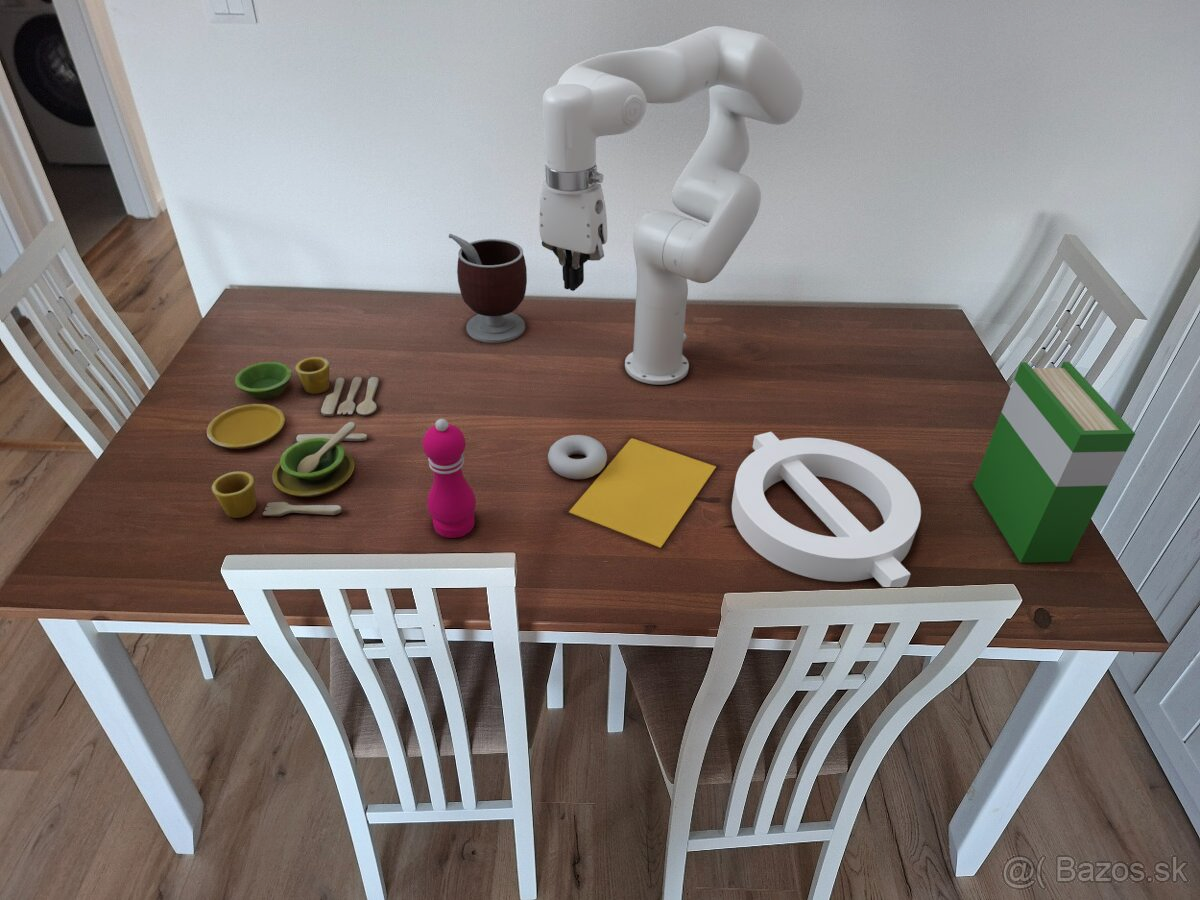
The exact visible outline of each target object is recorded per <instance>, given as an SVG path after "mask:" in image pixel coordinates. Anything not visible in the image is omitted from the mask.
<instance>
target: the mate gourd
mask: <svg viewBox="0 0 1200 900" xmlns="http://www.w3.org/2000/svg"><path fill="white" fill-rule="evenodd" d="M448 238H449V239H452V240H453V241H454V242H455V243H457V245H459V247H460V249H459V250H458V253H457V254H458V257H457V258H458V259H457V266H456V267H457V268H456V269H457V270H456V274H457V283H458V287H459V291H460V295H461V297H462V301H463V302H464V303H465V305H466V306H467V307H468V308H469V309H471V311H473V312H474V313H475V314H476V315H474V316H472V317H471V318H470V319H469V320H468V321H467V322H466V326H465V327H466V333H467V335H468V336H470V337H471V338H472V339H474V340H476V341H479V342H481V343H482V342H483V343H488V344H498V343H499V344H500V343H505V342H510V341H512V340H515V339H517V338H519V337H520V336H521V335H523V333H524V332H525V329H526V324H525V321H524V318H522V317H521V316H520V315H518V314H516V313H513V312H514V311H515V310H517V309H518V307H519V306H520V305H521V303H523V301H524V299H525V297H526V292H527V285H528V284H527V283H528V274H527V264H526V263H527V262H526V258H525V256H524V249H523V248H522V246H521V245H519V244H518V243H516V242H514V241H511V240H507V239H502V238H501V239H500V238H486V239H478V240H474V241H471V242H469V241H468V240H465V239H463V238H461V237H460V236H458V235H456V234H452V233H448Z"/></svg>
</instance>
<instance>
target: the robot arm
mask: <svg viewBox="0 0 1200 900" xmlns="http://www.w3.org/2000/svg"><path fill="white" fill-rule="evenodd" d="M706 90H708V93H709V94H708V96H709V97H708V99H709V120H708V126H707V131H706V133H705V136H704V138H703V139H702V141H701V143H700V144H699V146H698V147H697V149H696V150H695V152H694V153H693V155H692V156H691V158H690V160H689V161H688V163H686V165H685V167H684V169H683V170H682V171H681V173H680V174H679V176H678V178H677V179H676V181H675V183H674V185H673V188H672V189H671V190H672V191H671V203H672V204H673V205H674V207H675V208H676V209H677V210H678V211H680V212H681V213H682V214H685V215H687V216H689V217H690V218H689V217H686V216H683V215H681V214H677V213H675V212H672V211H668V210H663V209H655V210H651V211H647V212H646V213H644V214H643V215H642V216H641V217H640V218H639V219H638V221H637V222H636V225H635V227H634V230H633V234H632V235H633V236H632V247H633V253H634V260H635V268H636V289H635V290H636V291H635V312H634V326H633V327H634V329H633V349H632V351H631V352H630V353H629V354H627V356H626V357H625V360H624V368H625V371H626V373H627V374H628V375H629V376H630V377H631V378H633V379H634V380H636V381H638V382H641V383H644V384H647V385H655V386H660V385H661V386H662V385H669V384H675V383H677V382H679V381H681V380H682V379H684V378H685V377H686V376H687V375H688V372H689V368H690V363H689V360H688V358H687V357H686V356H685V355H684V354H683V347H684V342H685V341H686V340H687V338H688V337H687V334H686V333H685V325H686V316H687V315H686V314H687V302H688V295H689V294H688V293H689V286H688V285H689V284H688V280H689V281H691V282H694V283H698V284H707V283H709V282H711V281H713V280H714V279H716V278H717V276H718V275H719V274H720V273H721V272H722V271H723V269H724V268H725V267H726V265H727V263H728V262H729V260H730V259H731V258H732V256H733V254H734V253H735V252H736V250H737V248H738V247H739V246H740V244H741V242H742V241H743V239H744V238H745V237H746V235H747V233H748V231H750V228H751V227H752V225H753V224H754V222H755V220H756V218H757V215H758V213H759V211H760V206H761V201H762V192H761V188H760V186H759V184H758V182H756V181H755V179H753V178H752V177H750V176H748V175H745V174H743V173H740V172H741V170H742V168H743V167H744V165H745V163H746V161H747V160H748V157H749V153H750V138H749V133H748V128H747V124H746V122H747V121H746V118H748V119H752V120H755V121H758V122H762V123H766V124H770V125H774V126H779V125H780V126H781V125H784V124H787V123H789V122H791V120H793V119H794V118H795V117H796V115H797V114H798V112H799V110H800V108H801V106H802V102H803V96H804V93H803V92H804V88H803V84H802V80H801V78H800V76H799V73H798V72H797V71H796V70H795V69H794V67H793V66H792V64H791V63H790V61H789V60H788V59H787V57H786V55H784V53H783V52H782V50H780V48H779V47H778V46H777V44H775V43H774V42H773V41H772V40H771V39H770V38H769V37H767V36H766V35H764V34H762V33H759V32H754V31H749V30H744V29H739V28H735V27H731V26H726V25H713V26H708V27H705V28H702V29H701V30H698V31H695V32H693V33H691V34H688V35H685V36H683V37H681V38H678V39H676V40H673V41H671V42H668V43H666V44H662V45H657V46H649V47H640V48H635V49H627V50H620V51H619V50H618V51H613V52H612V51H611V52H607V53H603V54H599V55H596V56H593V57H590V58H587V59H585V60H582V61H580V62H578V63H575V64H573V65H572V66H570V67H569V68H567V69H566V70H565V72H563V73H562V75H561V76H560V78H559V80H558V82H557V84H556V85H552V86H550V87H549V88H547V89H546V90H545V91H544V93H543V95H542V101H541V105H542V106H541V109H542V129H543V131H542V132H543V151H544V173H545V174H544V175H545V177H544V178H545V179H544V181H542V185H541V191H540V198H539V206H538V207H539V209H538V229H539V237H540V240H541V246H542V247H543V248H545V249H547V250H549V251H551V252H553V254H554V255H555V256H556V258H557V259H558V264H559V265H560V266H562V281H563V287H564V290H570V291H572V292H574V291H576V290H577V289H578V288H579V287H581V285H582V284H584V280H585V272H584V271H585V270H584V269H585V268H584V265H585V263H586V262H588V261H601V259H603V258H604V257H605V252H604V248H603V245H605V244H606V243H607V242H608V219H607V218H608V217H607V207H606V201H605V196H604V191H603V187H602V183H603V181H604V173H600V172H598V165H597V156H596V155H597V139H598V138H599V137H605V136H607V137H608V136H616V135H621V134H622V135H623V134H625V133H629V132H630V131H632V130H634V129H635V128H636V127H638V126H639V125H640V124H641V122H642V120H643V119H644V117H645V114H646V110H647V104H657V105H659V104H660V105H663V104H676V103H681V102H682V101H685V100H687V99H689V98H690V97H693V96H695V95H697V94H699V93H702V92H704V91H706ZM691 217H692V218H694V219H697V220H699V221H702V222H705V223H708V224H707V225H706V224H703V223H702V222H698V221H696V220H693V219H691Z"/></svg>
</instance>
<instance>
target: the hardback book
mask: <svg viewBox="0 0 1200 900" xmlns="http://www.w3.org/2000/svg"><path fill="white" fill-rule="evenodd" d="M997 419H998V420H997V422H996V425H995V428H994V429H993V432H992V435H991V438H990V439H989V443H988V445H987V448H986V450H985V453H984V456H983V458H982V461H981V462H980V463H981V464H980V466H979V468H978V471H977V473H976V476H975V479H974V481H973V484H972V487H973V488H974V490H975V491H976V493H977V495H978V496H979V498H980V499H981V501H982V503H983V505H984V506H985V508H986V509H987V511H988V513H989V515H990V516H991V518H992V519H993V521H994V522H995V524H996V525H997V527H998V530H999V531H1000V532H1001V534H1002V535H1003V538H1005V540H1006V542H1007V543H1008V545H1009V547H1010V549H1011V550H1012V551H1013V553H1014V555H1015V556H1016V558H1017V560H1018V561H1019V563H1021V564H1025V563H1026V564H1027V563H1028V564H1029V563H1030V564H1033V563H1066V562H1067V563H1068V562H1070V560H1071V558H1072V556H1073V554H1074V553H1075V551H1076V549H1077V547H1078V544H1079V543H1080V541H1081V539H1082V537H1083V535H1084V533H1085V531H1086V530H1087V528H1088V525H1089V524H1090V522H1091V520H1092V518H1093V516H1094V514H1095V512H1096V510H1097V509H1098V506H1099V504H1100V502H1101V501H1102V499H1103V497H1104V495H1105V493H1106V491H1107V489H1108V487H1109V486H1110V484H1111V482H1112V480H1113V478H1114V476H1115V474H1116V472H1117V470H1118V468H1119V466H1120V465H1121V462H1122V461H1123V458H1124V457H1125V455H1126V453H1127V451H1128V449H1129V447H1130V445H1131V443H1132V441H1133V439H1134V438H1135V436H1136V432H1135V431H1134V430H1133V429H1132V427H1130V426H1129V425H1128V424H1127V423H1126V421H1125V420H1123V418H1122V417H1121V416H1120V415H1119V414H1118V413H1117V412H1116V411H1115V410H1114V409H1113V407H1112V406H1111V404H1109V403H1108V402H1107V401H1106V399H1104V398H1103V396H1102V395H1101V394H1100V393H1099V392H1098V390H1096V389H1095V388H1094V387H1093V386H1092V384H1090V382H1089V381H1088V380H1087V379H1086V378H1085V377H1084V376H1083V375H1082V373H1080V372H1079V371H1078V370H1077V368H1076V367H1075V366H1074V365H1073V364H1072V363H1071V362H1070V361H1062V364H1061V366H1060V367H1055V368H1054V367H1046V368H1045V367H1043V368H1041V367H1038V368H1037V367H1036V368H1033V367H1031V366H1030V364H1029V362H1026V361H1023V362H1020V363H1019V366H1018V368H1017V370H1016V373H1015V376H1014V379H1013V381H1012V384H1011V386H1010V388H1009V391H1008V394H1007V397H1006V399H1005V402H1004V404H1003V407H1002V409H1001V412H1000V414H999V416H998V418H997Z"/></svg>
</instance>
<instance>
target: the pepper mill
mask: <svg viewBox="0 0 1200 900" xmlns="http://www.w3.org/2000/svg"><path fill="white" fill-rule="evenodd" d="M466 445H467V444H466V438H465V434H464V433H463V431H462V430H461V429H460V428H459V427H458V426H456V425H454V424H451V423H449V422H448V420H447V419H445V418H439V419H437V420H436V421H435V423H434V425H433V426H430V428H428V430H427V431H426V432H425V433H424V436H423V438H422V450H423V452H424V454H425V455H426V457H427V460H428V466H429V468H430V470H431V471H433V483H432V485H431V488H430V490H429V492H428V494H427V495H428V496H427V500H426V501H427V502H426V503H427V505H426V506H427V511H428V513H429V515H430V517H431V518H432V525H433V530H434V531H435V532H436V534H437V535H439V536H441V537H443V538H447V539H457V538H462V537H464V536H466V535H467V534H469V533H470V532H471V531H472V530H473V529H474V527H475V523H476V521H475V513H474V512H475V510H476V508H477V507H476V505H477V501H476V496H475V495H476V494H475V492H474V491H473V488H472V487H471V486H470V484H469V482H468V481H467V480H466V478H465V476H464V474H463V470H462V467H463V466H464V464H465V459H464V452H465V449H466Z"/></svg>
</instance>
